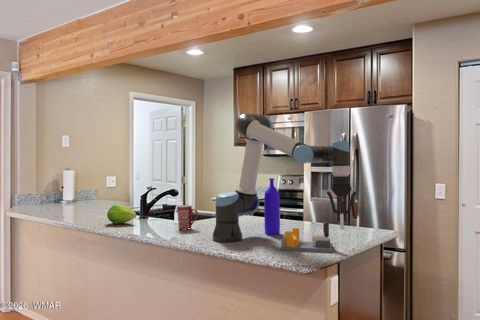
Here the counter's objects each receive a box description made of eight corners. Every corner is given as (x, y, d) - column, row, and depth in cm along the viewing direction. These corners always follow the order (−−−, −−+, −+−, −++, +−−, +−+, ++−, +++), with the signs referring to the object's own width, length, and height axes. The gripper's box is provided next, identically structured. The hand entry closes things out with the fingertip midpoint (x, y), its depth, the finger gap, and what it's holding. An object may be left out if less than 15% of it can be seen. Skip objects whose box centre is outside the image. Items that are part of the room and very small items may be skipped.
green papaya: (127, 226, 239) (127, 207, 239) (102, 224, 247) (102, 205, 247) (142, 223, 251) (142, 204, 251) (118, 221, 260) (117, 203, 260)
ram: (312, 245, 174) (312, 223, 174) (313, 243, 179) (312, 221, 179) (328, 246, 173) (328, 223, 173) (329, 243, 177) (328, 221, 177)
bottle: (267, 235, 206) (267, 179, 206) (262, 233, 214) (261, 178, 214) (282, 234, 208) (281, 178, 208) (276, 232, 216) (276, 177, 216)
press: (280, 250, 174) (280, 237, 174) (284, 243, 186) (284, 232, 186) (331, 252, 168) (331, 239, 168) (332, 246, 181) (332, 234, 181)
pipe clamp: (294, 247, 173) (294, 232, 173) (285, 246, 175) (285, 231, 175) (302, 241, 183) (302, 228, 183) (294, 241, 185) (293, 227, 185)
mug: (174, 229, 226) (173, 206, 226) (181, 227, 235) (181, 204, 235) (193, 231, 222) (193, 207, 222) (200, 228, 231) (200, 205, 230)
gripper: (325, 176, 171) (326, 229, 171) (356, 175, 168) (357, 230, 168) (326, 175, 178) (327, 226, 178) (356, 175, 175) (356, 227, 175)
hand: (341, 228), depth 173 cm, fingers closed
